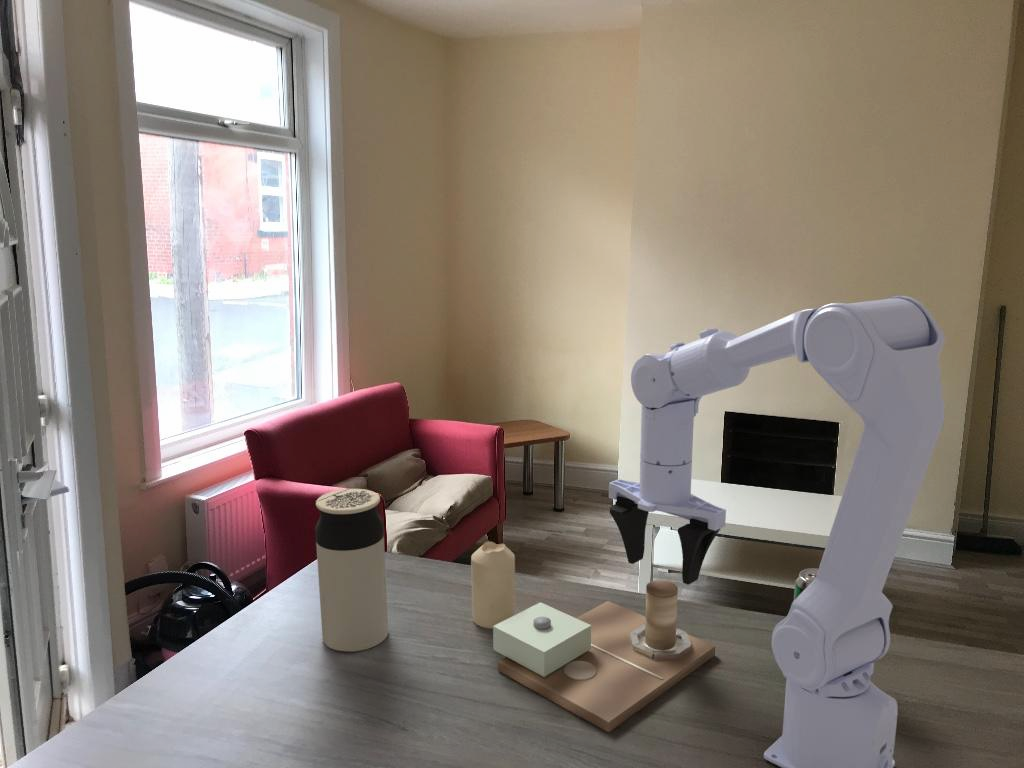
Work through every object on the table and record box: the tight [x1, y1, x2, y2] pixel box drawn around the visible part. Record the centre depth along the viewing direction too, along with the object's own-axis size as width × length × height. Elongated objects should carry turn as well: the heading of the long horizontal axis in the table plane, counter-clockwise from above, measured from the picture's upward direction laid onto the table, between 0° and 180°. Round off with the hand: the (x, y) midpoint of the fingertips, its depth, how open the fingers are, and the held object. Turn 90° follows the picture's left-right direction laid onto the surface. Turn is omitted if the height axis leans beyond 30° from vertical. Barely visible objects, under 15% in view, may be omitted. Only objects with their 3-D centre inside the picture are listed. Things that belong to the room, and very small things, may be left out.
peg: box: [645, 579, 679, 650], centre depth 96 cm, size 4×4×7 cm
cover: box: [492, 602, 591, 677], centre depth 95 cm, size 8×8×4 cm
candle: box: [470, 541, 516, 630], centre depth 104 cm, size 6×6×10 cm
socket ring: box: [630, 625, 691, 659], centre depth 97 cm, size 7×7×1 cm
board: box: [497, 600, 716, 733], centre depth 95 cm, size 16×20×1 cm
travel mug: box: [315, 488, 389, 653], centre depth 99 cm, size 8×8×18 cm
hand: (662, 570), depth 95 cm, fingers open, 7 cm apart
